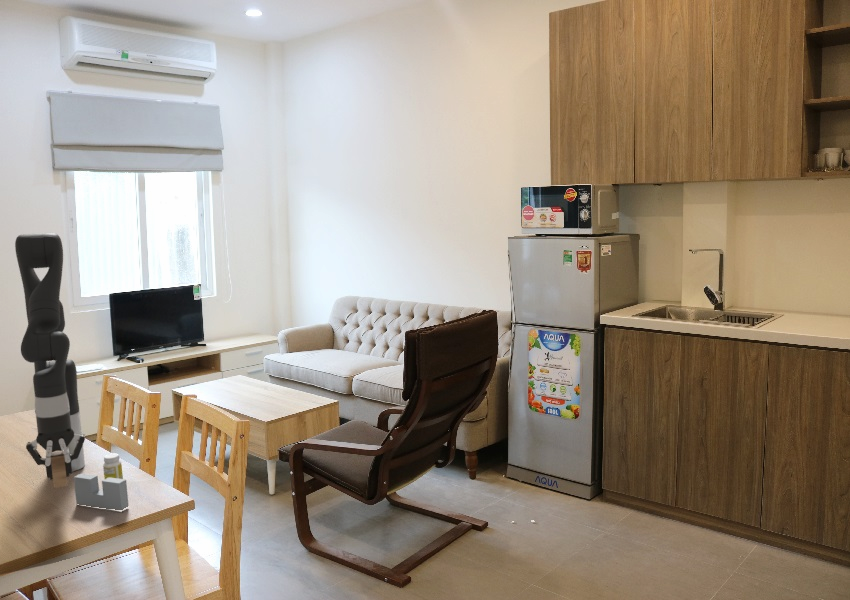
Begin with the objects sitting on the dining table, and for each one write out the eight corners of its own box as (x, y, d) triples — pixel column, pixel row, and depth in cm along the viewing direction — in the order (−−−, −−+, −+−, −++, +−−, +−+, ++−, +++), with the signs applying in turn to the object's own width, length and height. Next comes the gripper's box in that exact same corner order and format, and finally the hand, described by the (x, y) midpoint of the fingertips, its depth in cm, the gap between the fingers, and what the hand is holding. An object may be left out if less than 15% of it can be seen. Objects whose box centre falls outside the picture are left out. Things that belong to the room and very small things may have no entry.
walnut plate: (55, 466, 194) (52, 437, 193) (67, 464, 195) (64, 435, 194) (53, 488, 180) (50, 457, 178) (67, 485, 181) (64, 455, 180)
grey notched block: (76, 505, 192) (73, 476, 190) (83, 501, 194) (81, 473, 193) (121, 512, 187) (119, 483, 185) (128, 508, 189) (126, 479, 188)
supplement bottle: (118, 479, 209) (115, 451, 208) (126, 482, 206) (123, 454, 205) (101, 484, 205) (99, 456, 204) (110, 488, 202) (107, 459, 201)
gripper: (83, 403, 185) (90, 466, 188) (21, 411, 179) (29, 477, 182) (84, 411, 179) (90, 477, 181) (19, 420, 173) (27, 488, 175)
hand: (59, 476), depth 182 cm, fingers closed on walnut plate, 3 cm apart
